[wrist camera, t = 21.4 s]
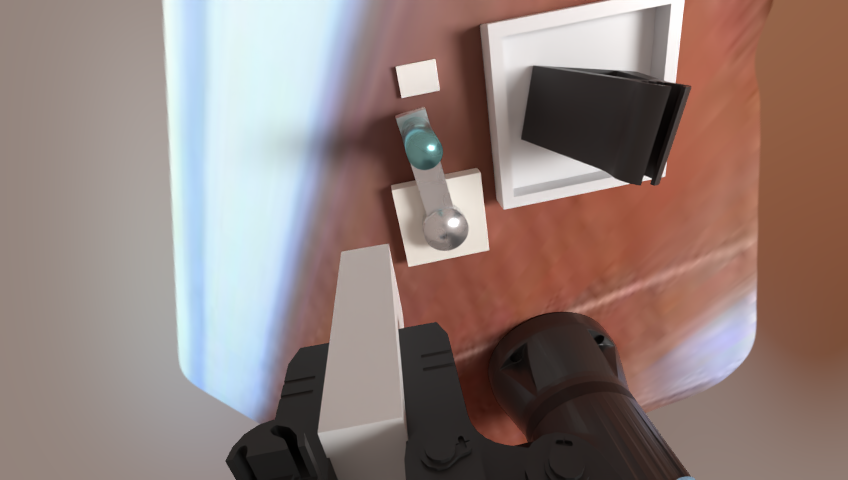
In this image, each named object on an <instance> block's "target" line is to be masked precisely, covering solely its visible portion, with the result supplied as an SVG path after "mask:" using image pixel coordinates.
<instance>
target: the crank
mask: <svg viewBox="0 0 848 480" xmlns="http://www.w3.org/2000/svg"><path fill="white" fill-rule="evenodd" d="M395 117H396V120H397V124H398V127H399V130H400V133H401V136H402V139H403V143H404V147H405V150H406V154H407V157H408V160H409V162H410V164H411V167H412V170H413V173H414V176H415V179H416V183H417V186H418V189H419V192H420V195H421V198H422V201H423V204H424V207H425V210H426V213H425V215H424V217H423V220H422V229H423V233H424V237H425V239H426V241H427V243H428V244H429V245H430V246H431V247H433V248H434V249H437V250H440V251H449V250H453V249H455V248H457V247H459V246H460V245H461V244H462V243H463V242H464V241H465V239H466V238H467V235H468V231H469V227H468V223H467V220H466V218H465V216H464V214H463V212H462V211H461V210H460V209H459V208H458V207H457V206H455V205H453V204H452V200H451V197H450V193H449V190H448V186H447V183H446V179H445V176H444V172H443V169H442V165H441V162H440V161H441V159H442V155H443V148H442V145H441V143H440V141H439V140H438V138H437V136H436V135H435V133H434V131H433V130H432V128H431V126H430V123H429V120H428V116H427V113H426V109H425V108H424V106H423V107H420V108H417V109H414V110H411V111H408V112H405V113H402V114H399V115H396V116H395Z"/></svg>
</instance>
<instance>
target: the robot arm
mask: <svg viewBox="0 0 848 480" xmlns="http://www.w3.org/2000/svg"><path fill="white" fill-rule="evenodd" d="M488 377H489V381H490V384H491V387H492V390H493V393H494V396H495V398H496V400H497V402H498V403H499V405H500V406H501V407H502V409H503V410H504V411H505V412H506V413H507V415H508V416H509V417H510V418H511V419H512V421H513V422H514V423H515V424H516V425H517V427H518V428H519V429H520V430H521V431H522V433H523V434H524V435H525V436H526V439H527V441H528V443H524V444H520V445H515V446H509V445H504V444H500V443H495V442H493V441H491V440H489V439H487V438H485V437H484V436H483V435H481V434H480V433H479V432H478V431H477V430H476V429H475V428H474V426H473V425H472V424H471V422H470V419H469V417H468V414H467V410H466V406H465V402H464V398H463V394H462V390H461V386H460V382H459V378H458V374H457V370H456V366H455V362H454V358H453V354H452V350H451V346H450V342H449V338H448V334H447V333H446V332H445V331H444V330H443V329H442V328H441V327H440V325H439V324H438V323H437V322H434V323H429V324H423V325H418V326H412V327H407V328H404V323H403V313H402V308H401V303H400V298H399V293H398V288H397V283H396V278H395V273H394V268H393V263H392V258H391V253H390V248H389V244H384V245H378V246H372V247H367V248H361V249H355V250H349V251H344V252H341V259H340V267H339V274H338V282H337V290H336V297H335V305H334V312H333V320H332V327H331V335H330V343H326V344H320V345H315V346H309V347H304V348H300V349H299V351H298V352H297V353H296V355H295V356H294V357H293V359H292V360H291V362H290V363H289V364H288V368H287V373H286V377H285V381H284V382H285V385H283V389H282V393H281V399H280V401H279V405H278V409H277V413H276V417H275V420H272V421H269V422H266V423H263V424H260V425H258V426H256V427H255V428H253V429H252V430H250V431H249V432H247V433H246V434H244V435H243V437H242V438H241V439H240V440H239V441H238V442H237V443H236V444H235V445H234V446H233V447H232V450H231V451H230V453H229V455H228V457H227V459H226V463H227V465H228V466H229V468H230V470H231V472H232V473H233V475H234V477H235V479H236V480H695V479H694V478H693V477H691V476H690V474H689V473H688V472H687V470H686V469H685V468H684V466H683V465H682V463H681V462H680V461H679V459H678V458H677V457H676V455H675V454H674V452H673V451H672V450H671V448H670V447H669V446H668V444H667V443H666V441H665V440H664V439H663V437H662V436H661V434H660V433H659V432H658V430H657V429H656V427H655V426H654V425H653V423H652V422H651V421H650V419H649V418H648V416H647V415H646V414H645V412H644V411H643V409H642V408H641V407H640V405H639V404H638V403H637V401H636V400H635V398H634V397H633V396H632V394H631V393H630V391H629V389H628V385H627V381H626V378H625V374H624V371H623V367H622V363H621V360H620V356H619V353H618V350H617V347H616V345H615V343H614V342H613V340H612V339H611V337H610V336H609V335H608V333H607V332H606V331H605V330H604V328H603V327H602V326H601V325H600V324H599V323H598V322H596V321H595V320H593V319H592V318H590V317H587V316H585V315H581V314H577V313H569V312H560V313H551V314H546V315H542V316H539V317H536V318H533V319H531V320H529V321H527V322H525V323H523V324H521V325H519V326H518V327H516V328H515V329H513V330H512V331H511V332H510V333H508V334H507V335H506V336H505V337H504V338H503V339H502V340H501V342H500V343H499V344H498V345H497V347H496V348H495V350H494V352H493V354H492V356H491V359H490V362H489V367H488Z"/></svg>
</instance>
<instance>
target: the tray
mask: <svg viewBox="0 0 848 480" xmlns="http://www.w3.org/2000/svg"><path fill="white" fill-rule="evenodd" d="M683 9H684V0H603V1H598V2H593V3H587V4H582V5H577V6H572V7H567V8H562V9H557V10H552V11H547V12H541V13H536V14H531V15H526V16H521V17H516V18H511V19H506V20H501V21H495V22H490V23H485V24H480V32H481V43H482V53H483V64H484V74H485V85H486V95H487V106H488V116H489V127H490V137H491V148H492V158H493V169H494V179H495V190H496V200H497V201H498V202H499V204H500V205H501V206H502V208H503V209H504V210H505V209H510V208H514V207H519V206H524V205H529V204H534V203H539V202H544V201H549V200H553V199H558V198H563V197H568V196H573V195H578V194H583V193H588V192H592V191H597V190H602V189H607V188H612V187H617V186H622V185H626V184H630V183H626V182H623V181H620V180H617V179H615V178H614V177H612V176H611V175H610V174H608V173H607V172H605V171H603V170H601V169H598V168H596V167H593V166H590V165H588V164H585V163H582V162H580V161H577V160H574V159H572V158H569V157H566V156H564V155H561V154H558V153H556V152H553V151H551V150H548V149H545V148H543V147H540V146H537V145H535V144H532V143H529V142H527V141H524V140H521V136H522V130H523V124H524V118H525V112H526V106H527V100H528V93H529V87H530V81H531V75H532V69H533V65H536V66H554V67H571V68H588V69H605V70H622V71H636V72H639V73H642V74H646V75H649V76H652V77H655V78H658V79H661V80H664V81H667V82H672V83H675V82H676V73H677V64H678V55H679V46H680V37H681V28H682V19H683ZM666 164H667V162H666ZM665 173H666V165H665V168H664V171H663V174H662V177H665ZM646 180H651V178H649V177H647V176H644V177H643V180H642V181H646Z"/></svg>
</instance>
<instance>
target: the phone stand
mask: <svg viewBox="0 0 848 480" xmlns="http://www.w3.org/2000/svg"><path fill="white" fill-rule="evenodd" d="M690 90H691V86H689V85H683V84H677V83H672V82H667V81H664V80H661V79H658V78H655V77H652V76H649V75H646V74H642V73H639V72H636V71H622V70H605V69H588V68H571V67H554V66H536V65H533V69H532V75H531V81H530V87H529V93H528V100H527V106H526V112H525V118H524V124H523V130H522V136H521V140H524V141H527V142H529V143H532V144H535V145H537V146H540V147H543V148H545V149H548V150H551V151H553V152H556V153H558V154H561V155H564V156H566V157H569V158H572V159H574V160H577V161H580V162H582V163H585V164H588V165H590V166H593V167H596V168H598V169H601V170H603V171H605V172H607V173H608V174H610V175H611V176H612V177H614V178H615V179H617V180H620V181H623V182H626V183H630V184H635V185H641V183H642V180H643V177H644V176H647V177H649V178H651V179H652V180H651V185H654V186H655V185H658V184H659V183H660V180H661V177H662V174H663V171H664V168H665V165H666V162H667V159H668V156H669V153H670V150H671V147H672V144H673V141H674V138H675V135H676V132H677V129H678V126H679V123H680V120H681V117H682V114H683V111H684V108H685V105H686V102H687V99H688V96H689V93H690Z"/></svg>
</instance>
